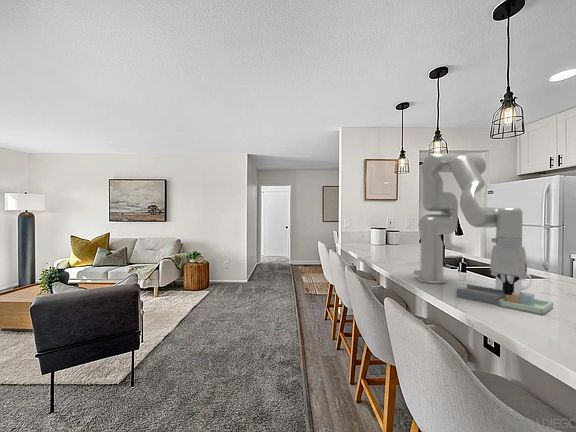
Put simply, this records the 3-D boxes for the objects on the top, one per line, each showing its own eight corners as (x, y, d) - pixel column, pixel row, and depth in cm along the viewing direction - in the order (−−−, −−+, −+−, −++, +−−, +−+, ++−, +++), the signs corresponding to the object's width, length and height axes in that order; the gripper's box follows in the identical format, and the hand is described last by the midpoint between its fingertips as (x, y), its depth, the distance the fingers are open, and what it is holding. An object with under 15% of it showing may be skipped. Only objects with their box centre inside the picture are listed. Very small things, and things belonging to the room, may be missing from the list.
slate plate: (456, 296, 120) (456, 287, 120) (467, 292, 127) (467, 284, 127) (498, 305, 109) (498, 295, 109) (508, 300, 116) (508, 291, 116)
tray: (497, 306, 109) (497, 300, 109) (510, 300, 116) (510, 294, 116) (542, 315, 99) (542, 309, 99) (552, 308, 107) (552, 302, 107)
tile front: (520, 294, 107) (530, 296, 105) (523, 292, 109) (534, 294, 107) (519, 306, 107) (530, 308, 105) (523, 304, 110) (534, 306, 107)
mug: (533, 296, 121) (534, 269, 121) (496, 292, 127) (497, 266, 127) (529, 291, 129) (529, 265, 129) (494, 288, 135) (494, 263, 135)
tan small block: (506, 303, 110) (506, 294, 110) (510, 301, 113) (510, 293, 113) (519, 306, 107) (519, 297, 107) (523, 303, 110) (523, 295, 110)
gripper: (481, 241, 115) (480, 291, 115) (531, 244, 103) (530, 300, 103) (489, 240, 119) (488, 288, 120) (538, 243, 108) (537, 296, 108)
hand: (508, 293), depth 111 cm, fingers closed
